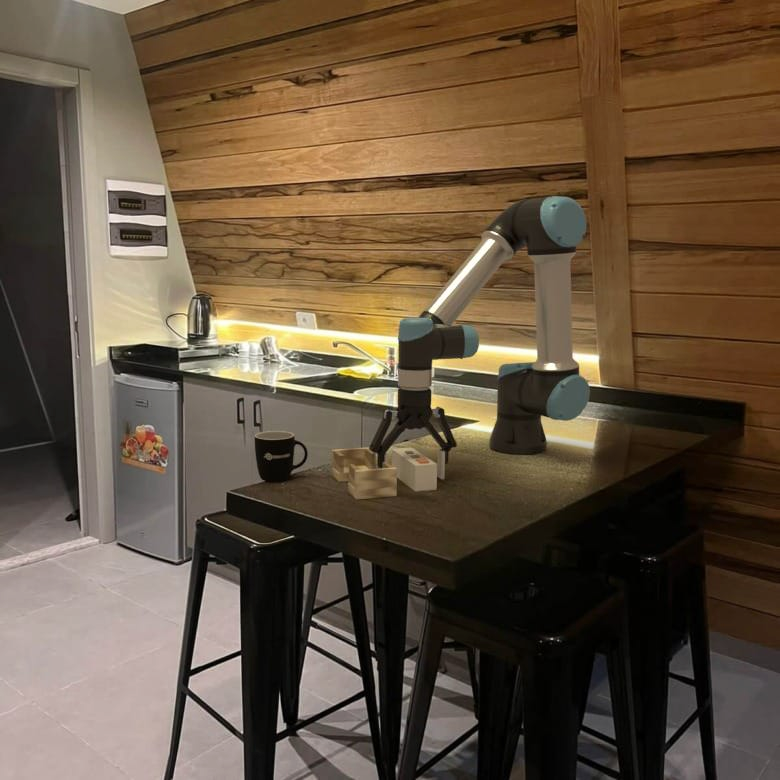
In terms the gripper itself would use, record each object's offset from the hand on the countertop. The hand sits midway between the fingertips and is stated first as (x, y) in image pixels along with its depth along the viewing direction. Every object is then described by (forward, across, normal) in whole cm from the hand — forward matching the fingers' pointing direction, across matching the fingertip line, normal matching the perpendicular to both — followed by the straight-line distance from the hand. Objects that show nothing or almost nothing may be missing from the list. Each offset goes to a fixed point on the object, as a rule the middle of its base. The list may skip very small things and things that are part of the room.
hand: (412, 480), depth 181 cm
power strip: (0, 0, 0) cm, 0 cm away
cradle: (0, +12, 0) cm, 12 cm away
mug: (0, +28, -11) cm, 30 cm away
